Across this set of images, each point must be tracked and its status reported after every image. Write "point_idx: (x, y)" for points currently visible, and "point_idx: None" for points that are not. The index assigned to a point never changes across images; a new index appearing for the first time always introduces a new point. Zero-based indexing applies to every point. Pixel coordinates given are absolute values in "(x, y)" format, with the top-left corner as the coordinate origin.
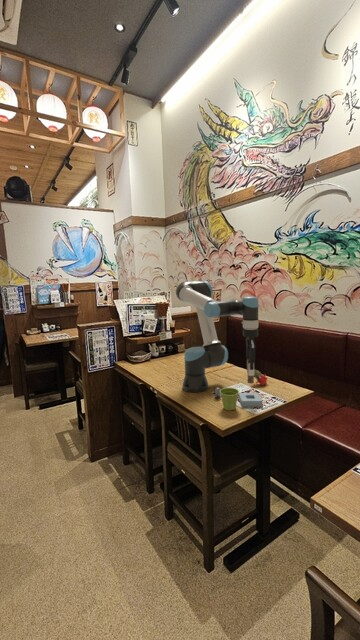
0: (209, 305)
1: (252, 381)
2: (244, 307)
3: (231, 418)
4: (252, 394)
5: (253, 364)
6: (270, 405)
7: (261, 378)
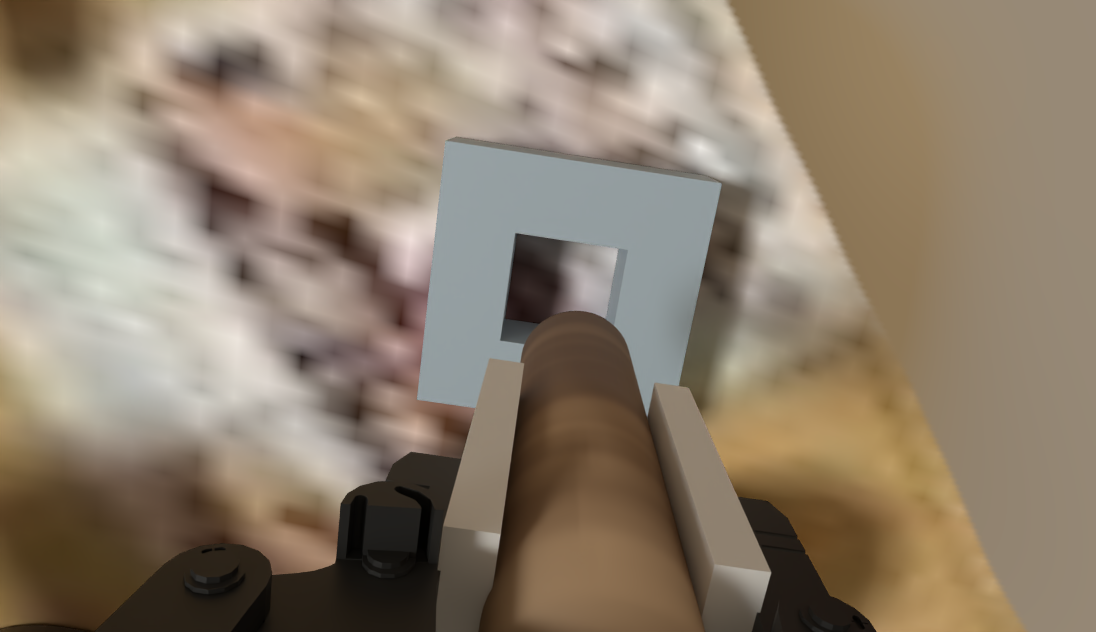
0: None
1: (631, 360)
2: None
3: (880, 569)
4: (490, 240)
5: (748, 557)
6: (694, 57)
7: None
